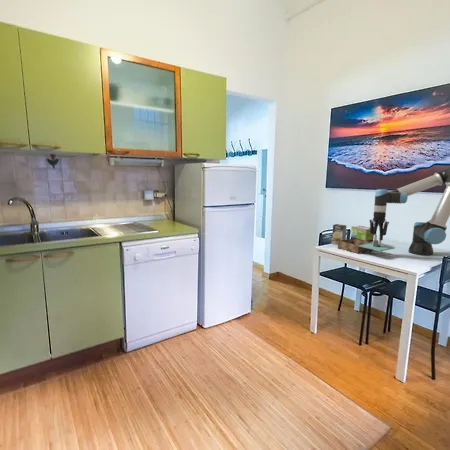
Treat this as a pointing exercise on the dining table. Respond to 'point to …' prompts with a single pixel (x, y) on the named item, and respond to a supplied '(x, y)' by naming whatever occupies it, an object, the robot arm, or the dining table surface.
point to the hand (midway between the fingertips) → (377, 244)
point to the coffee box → (338, 233)
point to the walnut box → (353, 245)
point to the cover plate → (383, 247)
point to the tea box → (361, 233)
